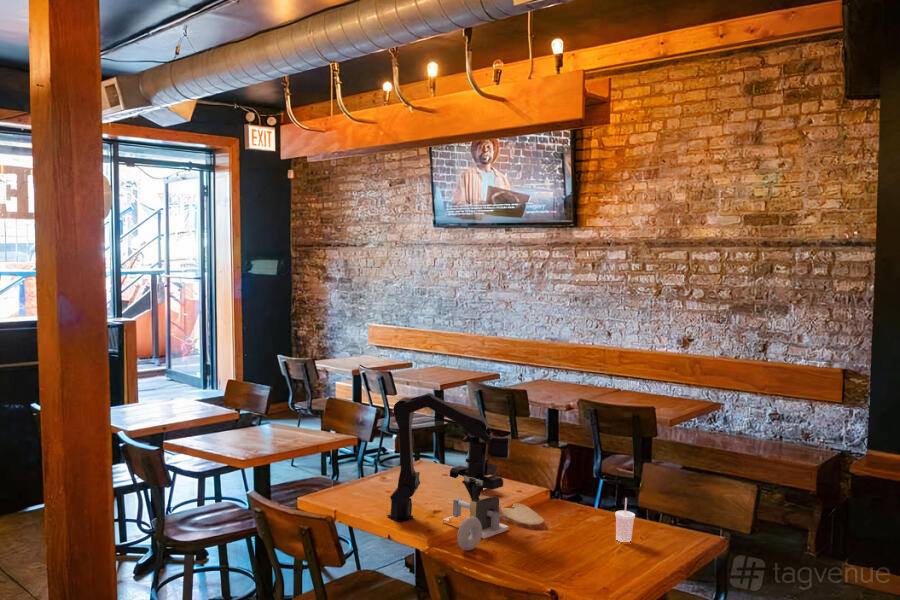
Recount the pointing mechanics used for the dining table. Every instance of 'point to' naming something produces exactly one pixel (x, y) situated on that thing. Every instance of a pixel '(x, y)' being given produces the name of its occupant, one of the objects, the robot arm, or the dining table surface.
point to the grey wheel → (464, 530)
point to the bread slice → (522, 517)
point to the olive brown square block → (473, 506)
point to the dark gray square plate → (482, 507)
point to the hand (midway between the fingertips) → (474, 503)
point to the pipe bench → (488, 530)
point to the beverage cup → (624, 524)
